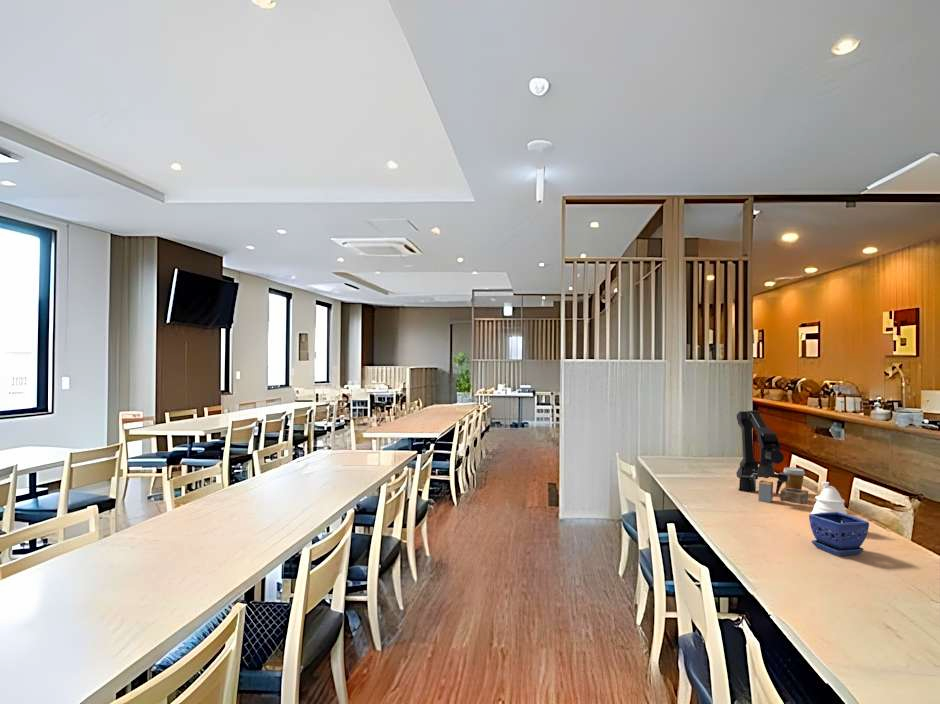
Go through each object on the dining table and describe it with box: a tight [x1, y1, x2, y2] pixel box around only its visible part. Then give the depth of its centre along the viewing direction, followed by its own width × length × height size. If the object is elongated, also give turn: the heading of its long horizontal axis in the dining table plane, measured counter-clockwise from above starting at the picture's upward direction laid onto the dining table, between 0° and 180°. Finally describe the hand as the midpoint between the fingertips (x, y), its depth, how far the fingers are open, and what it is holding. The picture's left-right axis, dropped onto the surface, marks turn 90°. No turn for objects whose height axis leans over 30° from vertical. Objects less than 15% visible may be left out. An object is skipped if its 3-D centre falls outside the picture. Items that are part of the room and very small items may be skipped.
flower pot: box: [808, 512, 870, 557], centre depth 209 cm, size 13×13×12 cm
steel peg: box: [758, 479, 774, 504], centre depth 277 cm, size 5×5×9 cm
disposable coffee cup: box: [783, 466, 806, 490], centre depth 295 cm, size 10×10×12 cm
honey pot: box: [810, 480, 848, 523], centre depth 237 cm, size 13×13×18 cm
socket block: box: [780, 486, 809, 505], centre depth 281 cm, size 10×10×4 cm
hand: (765, 493), depth 278 cm, fingers open, 9 cm apart
